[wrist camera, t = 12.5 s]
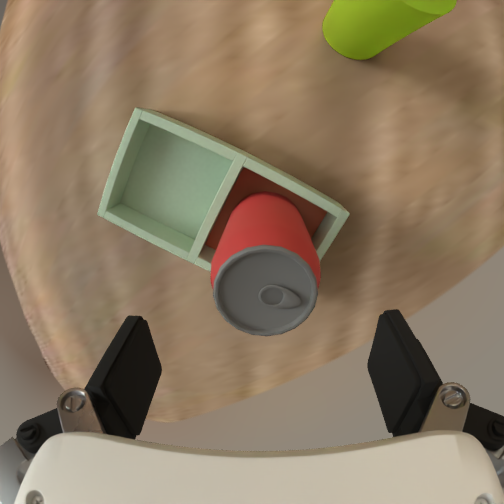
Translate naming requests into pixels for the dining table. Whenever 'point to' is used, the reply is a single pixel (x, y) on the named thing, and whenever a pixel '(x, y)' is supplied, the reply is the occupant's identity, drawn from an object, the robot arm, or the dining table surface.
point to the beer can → (265, 267)
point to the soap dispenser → (377, 23)
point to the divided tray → (198, 188)
